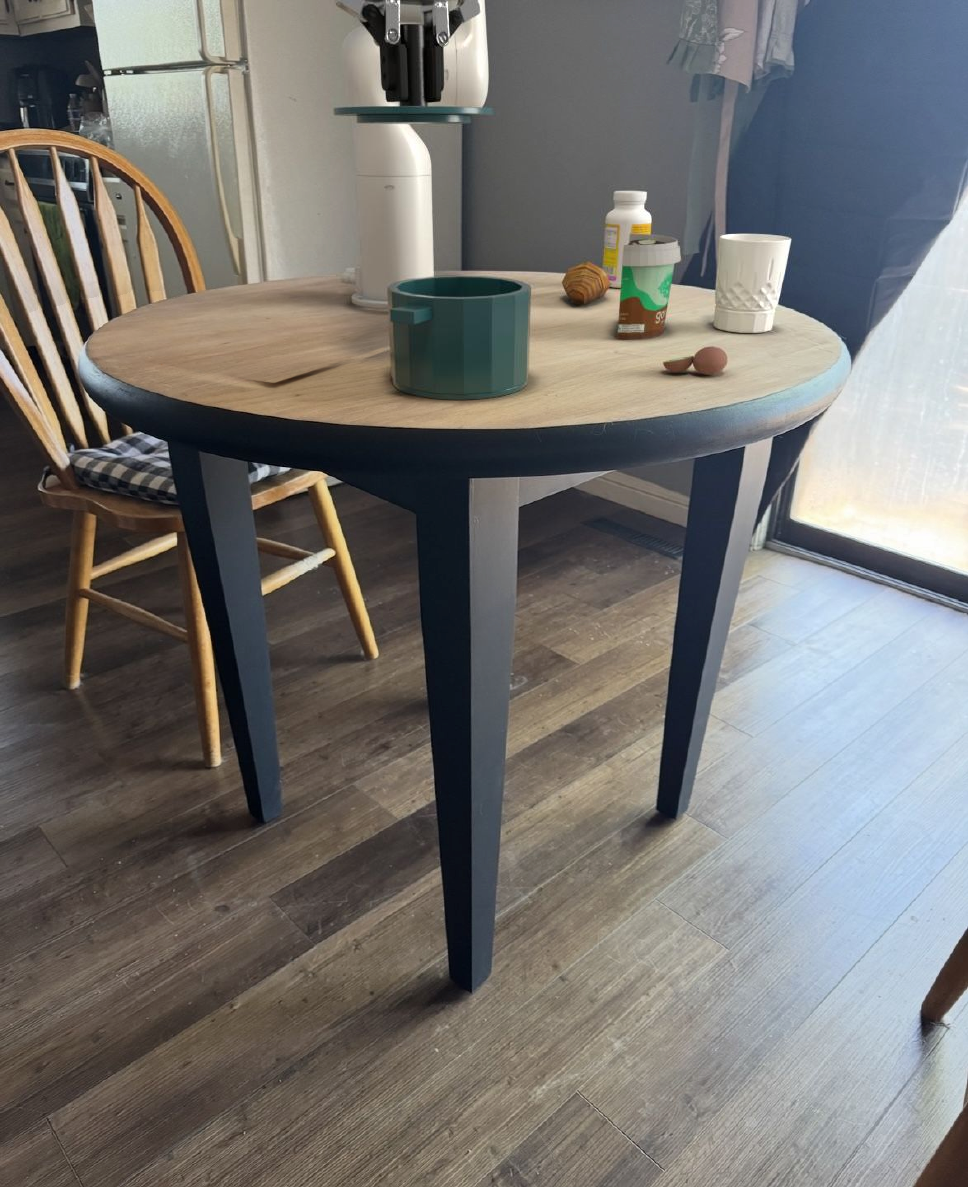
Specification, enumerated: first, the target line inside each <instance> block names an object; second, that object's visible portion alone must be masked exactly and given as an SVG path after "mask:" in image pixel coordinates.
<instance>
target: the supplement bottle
mask: <svg viewBox="0 0 968 1187" xmlns="http://www.w3.org/2000/svg"><path fill="white" fill-rule="evenodd" d="M647 195H648V192H647V191H642V190H615V191H614V192H613V199H612V201H613V203H614V207H613V209H612V210H610V211H609V212H608V213H607V214H606V216H605V222H604V224H605V225H604V238H603V239H604V240H603V258H602V269H603V270H604V271H605V273H606V275H607V277H608V279H609V281H610V283H611V285H610V286H609V288H613V289H614V288H616V289H621V277H622V258H623V247H624V245H628V244H629V235H630V234H649V235H652V215H651V213H650V212H649V211H647V210H646V209H645V204H646V201H647Z"/></svg>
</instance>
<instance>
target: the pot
mask: <svg viewBox="0 0 968 1187" xmlns="http://www.w3.org/2000/svg"><path fill="white" fill-rule="evenodd" d="M387 296H388V309H387V313H388V314H387V315H388V317H387V318H388V334H389V335H388V336H389V357H390V376H391V378H392V384H393V386H394V387H395V389H397V390H399V391H401V392H402V393H406V394H409V395H411V396H416V397H421V398H428V399H434V400H435V399H436V400H447V401H450V400H453V401H454V400H455V401H460V400H461V401H464V400H465V401H466V400H467V401H468V400H482V399H491V398H499V397H502V396H508V395H510V394H514V393H517V392H519V391H521V390H523V389H525V387H526V386H527V385H528V383H529V375H530V346H531V345H530V344H531V341H530V340H531V302H532V286H531V285H530V284H528V283H526V282H524V281H522V280H517V279H512V278H507V277H498V276H486V275H436V276H435V275H434V276H432V277H422V278H413V279H407V280H402V281H398V282H394V283H393V284H391V285H390V286H388V287H387Z"/></svg>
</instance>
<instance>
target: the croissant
mask: <svg viewBox="0 0 968 1187" xmlns="http://www.w3.org/2000/svg"><path fill="white" fill-rule="evenodd" d="M610 285H611V283H610V281H609V279H608V277H607V275H606V273H605V271H604V270H603V268H601V267H600V266H597V265H596V264H594V263H592V262H590V261H588V260H587V261H584V262H582V263H580V264H576V265H574V266H571V267H569V268H568V269H567V271H566V273H565V275H564V277H563V279H562V281H561V286H562V287H563V289H564V292H565V293H566V295H567V297H568V300H569V301H570V302H571V303H572V304H575V305H578V306H584V305H588V304H591V303H593V302H596V301H597V300H600V299H602V298H604V296H605V295H606V293H607V291H608V290H609V288H610V287H609V286H610Z"/></svg>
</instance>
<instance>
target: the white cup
mask: <svg viewBox="0 0 968 1187" xmlns="http://www.w3.org/2000/svg"><path fill="white" fill-rule="evenodd" d="M791 243H792V238H791V237H790V236H785V235H778V234H777V235H776V234H767V233H761V234H760V233H729V234H721V235H720V236H718V251H717V263H716V273H715V274H716V276H715V290H714V291H715V292H714V293H715V294H714V302H715V303H714V304H715V306H714V315H713V316H714V317H713V327H714V328H716V329H717V330H721V331H725V332H730V333H740V334H758V333H759V334H761V333H767V332H771V330H772V329H773V327H774V326H773V325H774V321H775V314H776V310H777V309H776V308H777V307H778V305H779V301H780V296H781V293H782V287H783V282H784V280H785V275H786V270H787V264H788V260H789V259H788V258H789V255H790V254H789V253H790V248H791Z"/></svg>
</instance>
